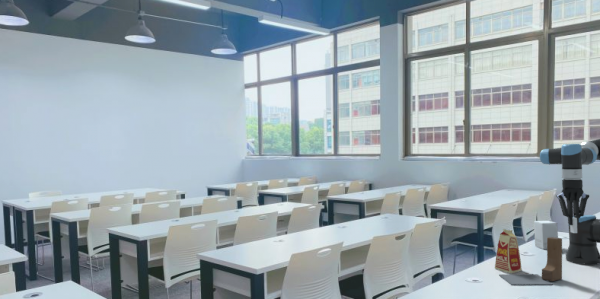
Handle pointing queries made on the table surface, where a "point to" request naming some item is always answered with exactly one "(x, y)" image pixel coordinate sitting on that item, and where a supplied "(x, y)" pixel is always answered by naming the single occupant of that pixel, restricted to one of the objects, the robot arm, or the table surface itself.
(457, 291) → the table surface
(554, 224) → the supplement box
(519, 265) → the milk carton
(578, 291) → the table surface
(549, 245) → the wooden block
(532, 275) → the mat
